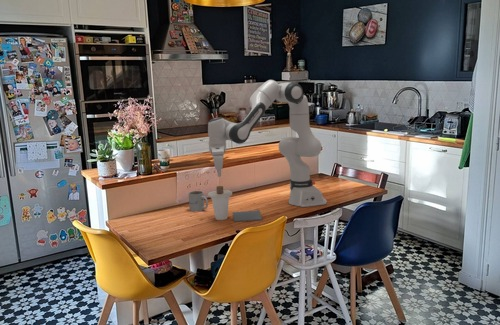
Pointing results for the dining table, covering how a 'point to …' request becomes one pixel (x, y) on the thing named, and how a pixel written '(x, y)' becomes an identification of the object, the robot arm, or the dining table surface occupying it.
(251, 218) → the mat
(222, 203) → the foam cup
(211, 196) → the lid
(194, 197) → the mug
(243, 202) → the dining table surface
